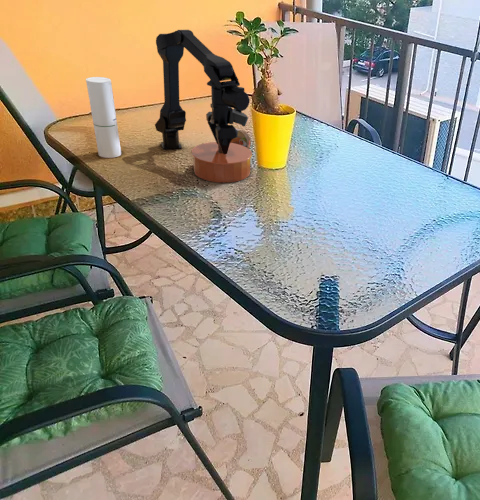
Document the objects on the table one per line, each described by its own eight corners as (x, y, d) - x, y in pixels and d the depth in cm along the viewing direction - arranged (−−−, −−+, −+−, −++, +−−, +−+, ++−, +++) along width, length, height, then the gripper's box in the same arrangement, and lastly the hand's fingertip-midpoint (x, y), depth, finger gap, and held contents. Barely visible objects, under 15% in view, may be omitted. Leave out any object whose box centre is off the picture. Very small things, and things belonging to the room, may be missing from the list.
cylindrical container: (125, 152, 164) (115, 79, 151) (114, 158, 158) (103, 83, 145) (105, 149, 165) (94, 75, 152) (94, 155, 158) (81, 80, 145)
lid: (186, 146, 161) (185, 131, 158) (243, 143, 169) (243, 130, 167) (197, 168, 146) (197, 152, 143) (259, 164, 155) (259, 149, 152)
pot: (189, 162, 164) (188, 144, 160) (242, 159, 172) (242, 142, 168) (200, 184, 150) (199, 165, 146) (256, 180, 158) (257, 162, 155)
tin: (215, 145, 181) (215, 124, 176) (221, 143, 183) (220, 122, 179) (246, 155, 176) (247, 134, 171) (252, 153, 178) (252, 132, 174)
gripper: (253, 111, 145) (253, 158, 153) (238, 94, 159) (238, 138, 167) (217, 111, 140) (219, 160, 148) (205, 94, 154) (206, 140, 162)
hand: (221, 149), depth 157 cm, fingers open, 9 cm apart
